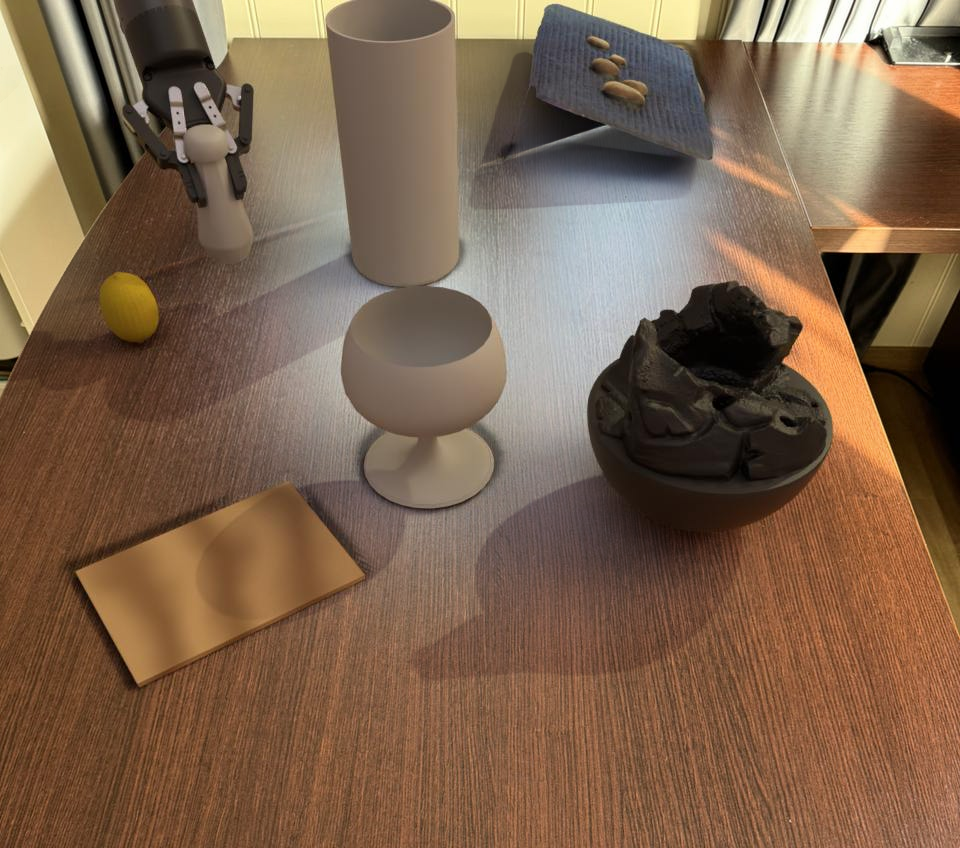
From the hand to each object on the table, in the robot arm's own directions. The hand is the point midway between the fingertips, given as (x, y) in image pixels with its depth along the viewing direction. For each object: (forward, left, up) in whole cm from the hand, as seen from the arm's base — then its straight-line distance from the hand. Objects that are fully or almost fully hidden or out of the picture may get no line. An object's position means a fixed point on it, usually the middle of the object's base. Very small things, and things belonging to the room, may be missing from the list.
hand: (221, 200), depth 95 cm
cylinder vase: (+19, -3, -11) cm, 23 cm away
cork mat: (-20, -37, -11) cm, 44 cm away
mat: (+65, +16, -12) cm, 68 cm away
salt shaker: (0, +2, -7) cm, 7 cm away
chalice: (+2, -35, -11) cm, 37 cm away
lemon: (-13, -1, -12) cm, 17 cm away
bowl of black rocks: (+19, -52, -12) cm, 57 cm away
